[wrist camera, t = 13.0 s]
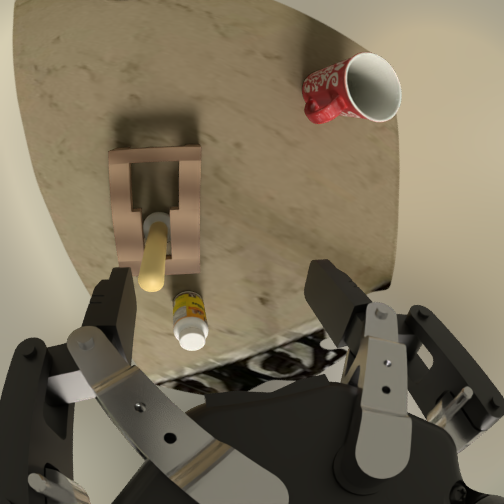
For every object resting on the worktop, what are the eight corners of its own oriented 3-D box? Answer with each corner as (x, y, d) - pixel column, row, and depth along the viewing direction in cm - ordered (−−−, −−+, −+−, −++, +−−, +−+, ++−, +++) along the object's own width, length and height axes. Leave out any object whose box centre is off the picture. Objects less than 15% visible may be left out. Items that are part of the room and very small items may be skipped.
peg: (142, 212, 38) (124, 260, 25) (174, 210, 39) (172, 258, 26) (144, 242, 40) (132, 300, 27) (175, 241, 41) (176, 299, 28)
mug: (327, 57, 33) (381, 43, 22) (354, 103, 38) (411, 104, 26) (266, 92, 34) (305, 81, 23) (299, 140, 39) (347, 151, 27)
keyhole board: (117, 147, 33) (108, 151, 28) (199, 144, 36) (201, 146, 31) (126, 260, 41) (121, 276, 36) (197, 257, 44) (200, 273, 39)
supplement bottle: (209, 304, 49) (217, 344, 40) (184, 318, 49) (188, 359, 40) (192, 284, 46) (197, 323, 37) (166, 299, 46) (166, 339, 37)
